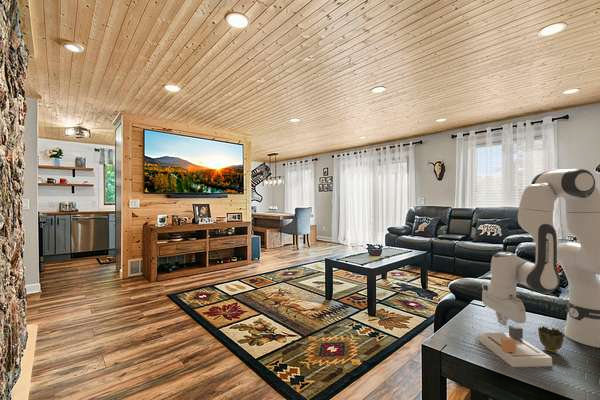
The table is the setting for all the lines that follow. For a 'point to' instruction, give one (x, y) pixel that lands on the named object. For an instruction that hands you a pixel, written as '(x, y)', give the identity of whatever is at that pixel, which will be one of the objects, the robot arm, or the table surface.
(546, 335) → the cup
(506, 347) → the fader
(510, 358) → the mixer console
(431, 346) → the table surface
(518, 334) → the fader
